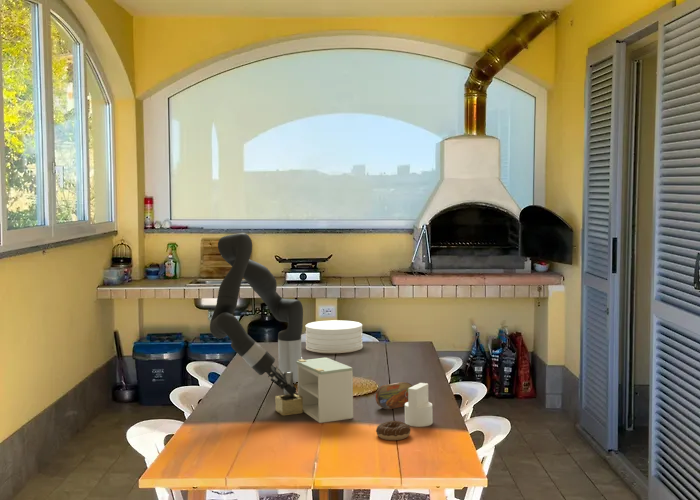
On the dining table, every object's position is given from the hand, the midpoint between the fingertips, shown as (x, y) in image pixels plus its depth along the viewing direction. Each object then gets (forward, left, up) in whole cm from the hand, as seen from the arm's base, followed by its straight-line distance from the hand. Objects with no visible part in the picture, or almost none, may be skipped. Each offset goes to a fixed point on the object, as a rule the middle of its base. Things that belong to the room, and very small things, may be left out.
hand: (294, 392), depth 260 cm
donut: (-18, +39, -7) cm, 44 cm away
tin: (-34, +10, -7) cm, 36 cm away
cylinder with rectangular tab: (-32, +30, -7) cm, 44 cm away
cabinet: (-9, +6, -7) cm, 13 cm away
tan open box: (+2, -1, -7) cm, 7 cm away
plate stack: (-57, -99, -7) cm, 114 cm away
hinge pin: (+2, -1, -5) cm, 5 cm away
